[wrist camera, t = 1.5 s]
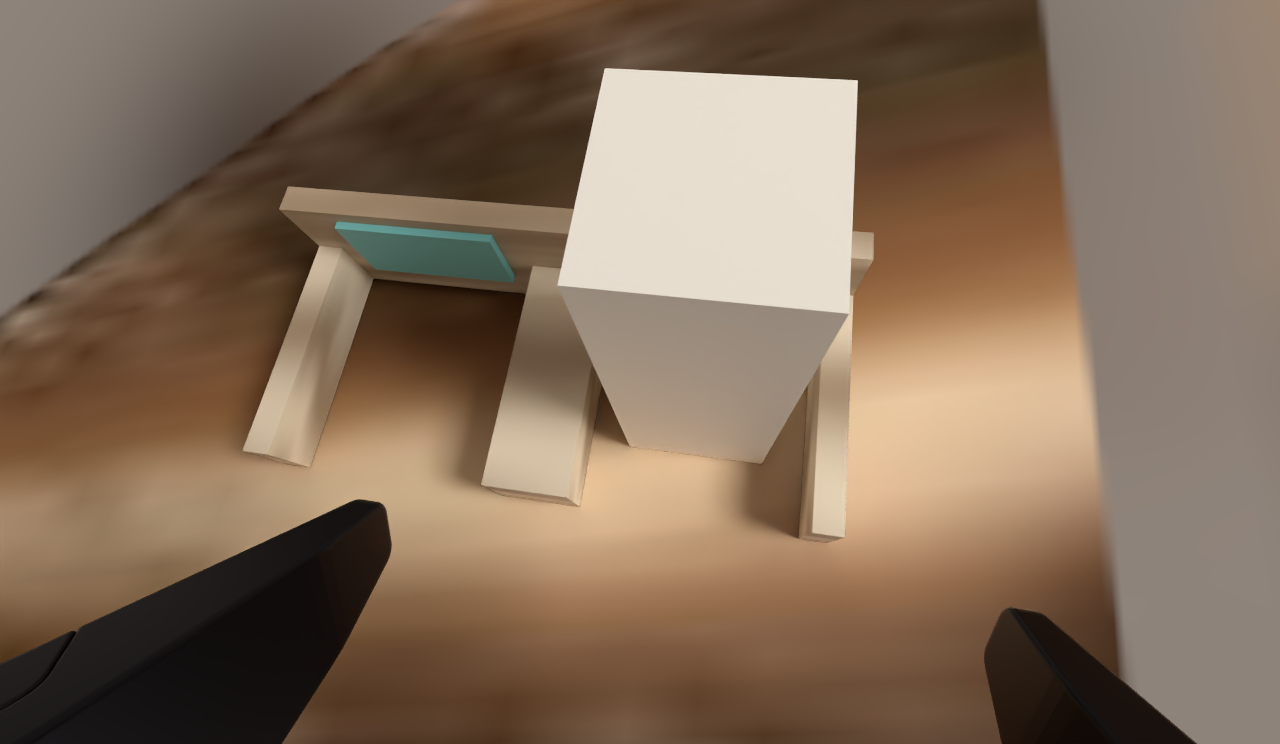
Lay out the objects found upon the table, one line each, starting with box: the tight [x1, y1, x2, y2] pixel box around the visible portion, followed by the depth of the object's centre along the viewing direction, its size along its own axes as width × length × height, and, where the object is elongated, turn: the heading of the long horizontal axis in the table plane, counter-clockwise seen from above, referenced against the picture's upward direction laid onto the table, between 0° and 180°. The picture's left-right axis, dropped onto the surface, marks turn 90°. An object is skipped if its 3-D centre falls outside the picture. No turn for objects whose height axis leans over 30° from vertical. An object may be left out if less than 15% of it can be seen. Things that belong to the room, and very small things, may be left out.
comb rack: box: [243, 187, 874, 543], centre depth 21 cm, size 10×21×5 cm, turn 81°
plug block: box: [557, 68, 858, 464], centre depth 17 cm, size 5×5×13 cm
